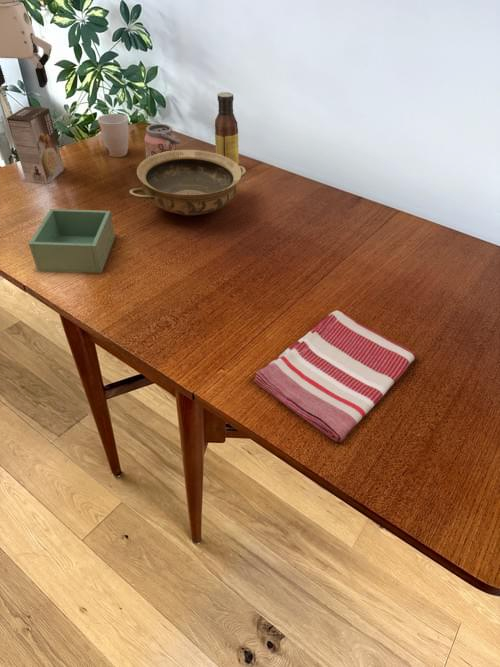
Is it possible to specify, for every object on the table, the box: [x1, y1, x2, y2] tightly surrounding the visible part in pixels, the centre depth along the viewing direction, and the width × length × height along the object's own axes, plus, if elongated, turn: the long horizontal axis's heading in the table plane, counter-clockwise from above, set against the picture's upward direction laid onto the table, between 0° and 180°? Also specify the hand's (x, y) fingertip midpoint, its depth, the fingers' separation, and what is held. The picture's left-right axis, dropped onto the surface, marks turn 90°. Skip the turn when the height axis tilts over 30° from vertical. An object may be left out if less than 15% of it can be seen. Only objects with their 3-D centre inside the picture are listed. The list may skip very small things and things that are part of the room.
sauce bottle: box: [214, 91, 240, 165], centre depth 124 cm, size 6×6×20 cm
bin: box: [28, 208, 116, 274], centre depth 95 cm, size 13×14×7 cm
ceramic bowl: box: [128, 149, 247, 217], centre depth 110 cm, size 30×24×10 cm
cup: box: [97, 113, 130, 158], centre depth 132 cm, size 8×8×10 cm
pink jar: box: [143, 123, 181, 159], centre depth 124 cm, size 9×8×12 cm
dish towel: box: [253, 309, 417, 443], centre depth 75 cm, size 17×23×3 cm
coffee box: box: [6, 106, 65, 185], centre depth 118 cm, size 9×6×16 cm
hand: (22, 85), depth 108 cm, fingers open, 9 cm apart
